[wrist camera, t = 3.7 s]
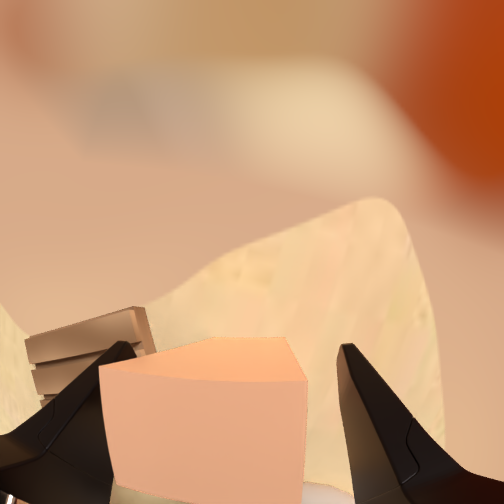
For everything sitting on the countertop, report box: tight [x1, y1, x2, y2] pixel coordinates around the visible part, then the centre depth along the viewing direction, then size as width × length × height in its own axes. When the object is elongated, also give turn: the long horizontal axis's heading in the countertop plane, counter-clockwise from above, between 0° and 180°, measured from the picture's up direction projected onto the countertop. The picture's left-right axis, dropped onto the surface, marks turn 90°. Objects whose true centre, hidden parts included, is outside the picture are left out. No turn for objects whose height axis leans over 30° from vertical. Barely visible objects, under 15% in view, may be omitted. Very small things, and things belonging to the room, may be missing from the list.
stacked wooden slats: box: [25, 306, 157, 408], centre depth 14 cm, size 9×10×2 cm
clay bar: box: [99, 337, 308, 504], centre depth 9 cm, size 3×4×11 cm
